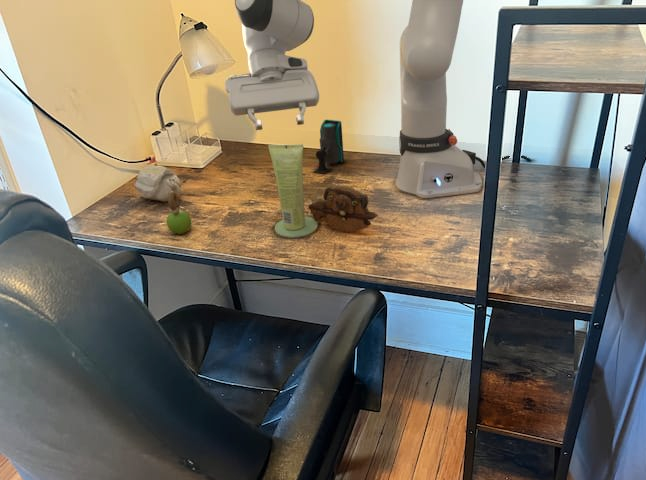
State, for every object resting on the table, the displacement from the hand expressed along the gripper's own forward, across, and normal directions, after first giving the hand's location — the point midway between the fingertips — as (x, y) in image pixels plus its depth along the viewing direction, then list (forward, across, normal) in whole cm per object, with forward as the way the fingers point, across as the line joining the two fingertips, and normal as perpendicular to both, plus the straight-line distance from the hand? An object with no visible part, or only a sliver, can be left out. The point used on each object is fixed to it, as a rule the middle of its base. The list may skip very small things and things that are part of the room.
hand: (280, 126), depth 121 cm
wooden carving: (+25, +10, +5) cm, 27 cm away
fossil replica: (+2, -32, +28) cm, 43 cm away
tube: (+21, 0, +8) cm, 23 cm away
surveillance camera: (-2, +14, +32) cm, 35 cm away
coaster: (+22, 0, +8) cm, 23 cm away
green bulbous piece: (+17, -26, +13) cm, 34 cm away
